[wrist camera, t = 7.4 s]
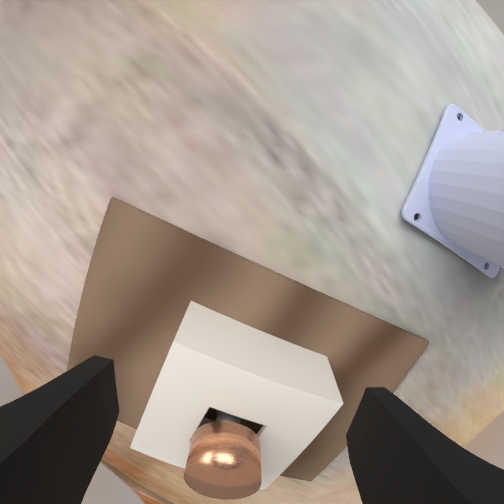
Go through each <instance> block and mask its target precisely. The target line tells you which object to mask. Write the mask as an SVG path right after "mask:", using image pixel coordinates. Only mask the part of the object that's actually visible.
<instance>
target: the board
mask: <svg viewBox="0 0 504 504" xmlns="http://www.w3.org/2000/svg"><path fill="white" fill-rule="evenodd" d="M191 301H193V302H195V303H197V304H200V305H202V306H204V307H206V308H209V309H211V310H213V311H215V312H218V313H220V314H222V315H225V316H227V317H229V318H232V319H234V320H236V321H239V322H241V323H243V324H246V325H248V326H250V327H253V328H255V329H258V330H260V331H263V332H265V333H268V334H270V335H272V336H275V337H277V338H280V339H282V340H285V341H288V342H290V343H293V344H295V345H298V346H300V347H303V348H306V349H308V350H311V351H313V352H316V353H319V354H321V355H324V356H327V358H328V361H329V364H330V366H331V369H332V372H333V375H334V378H335V380H336V383H337V386H338V389H339V392H340V395H341V398H342V400H343V403H344V404H343V405H342V406H341V407H340V409H339V410H338V411H337V412H336V414H335V415H334V416H333V417H332V418H331V420H330V421H329V422H328V423H327V424H326V426H325V427H324V428H323V429H322V430H321V431H320V433H319V434H318V435H317V436H316V437H315V438H314V439H313V440H312V442H311V443H310V444H309V445H308V446H307V447H306V448H305V449H304V450H303V451H302V453H301V454H300V455H299V456H298V457H297V458H296V459H295V460H294V461H293V462H292V463H291V464H290V465H289V466H288V467H287V468H286V469H285V470H284V471H283V472H282V473H281V474H280V475H281V476H285V477H290V478H295V479H301V480H307V481H312V480H313V479H314V478H315V477H316V476H317V475H318V474H319V473H320V472H321V471H322V470H323V469H324V468H325V467H326V466H327V465H328V464H329V463H330V462H331V461H333V460H334V459H335V457H336V456H337V455H338V454H339V453H340V452H341V451H342V450H343V449H344V448H345V447H346V446H347V439H346V434H347V431H348V429H349V427H350V425H351V422H352V420H353V418H354V415H355V413H356V411H357V408H358V406H359V404H360V401H361V399H362V396H363V394H364V391H365V389H366V387H385V388H386V389H388V390H389V391H390V392H392V393H393V392H394V391H395V389H396V388H397V387H398V385H399V384H400V383H401V381H402V380H403V379H404V377H405V376H406V375H407V373H408V372H409V371H410V369H411V368H412V367H413V365H414V364H415V362H416V361H417V360H418V358H419V357H420V355H421V354H422V352H423V351H424V349H425V348H426V347H427V345H428V344H429V342H428V341H427V340H426V339H424V338H421V337H419V336H417V335H415V334H412V333H410V332H408V331H406V330H403V329H401V328H399V327H397V326H394V325H392V324H390V323H388V322H385V321H383V320H381V319H379V318H376V317H374V316H372V315H370V314H368V313H365V312H363V311H361V310H359V309H356V308H354V307H352V306H350V305H347V304H345V303H343V302H341V301H339V300H336V299H334V298H332V297H330V296H327V295H325V294H323V293H321V292H319V291H316V290H314V289H312V288H310V287H308V286H305V285H303V284H301V283H299V282H297V281H294V280H292V279H290V278H288V277H285V276H283V275H281V274H279V273H277V272H274V271H272V270H270V269H268V268H266V267H264V266H261V265H259V264H257V263H255V262H253V261H250V260H248V259H246V258H244V257H242V256H239V255H237V254H235V253H233V252H231V251H229V250H226V249H224V248H222V247H220V246H218V245H215V244H213V243H211V242H209V241H207V240H205V239H202V238H200V237H198V236H196V235H194V234H192V233H189V232H187V231H185V230H183V229H181V228H179V227H176V226H174V225H172V224H170V223H168V222H166V221H163V220H161V219H159V218H157V217H155V216H153V215H151V214H148V213H146V212H144V211H142V210H140V209H138V208H136V207H133V206H131V205H129V204H127V203H125V202H123V201H121V200H118V199H116V198H114V197H113V198H111V199H110V202H109V204H108V207H107V210H106V213H105V216H104V219H103V222H102V225H101V229H100V232H99V235H98V238H97V241H96V245H95V248H94V251H93V255H92V258H91V262H90V266H89V269H88V273H87V277H86V281H85V284H84V288H83V293H82V297H81V301H80V305H79V310H78V314H77V319H76V323H75V328H74V333H73V338H72V344H71V349H70V355H69V361H68V367H67V371H68V370H70V369H72V368H73V367H75V366H76V365H78V364H80V363H81V362H83V361H85V360H87V359H88V358H90V357H92V356H94V355H96V356H100V357H105V358H109V359H113V360H114V370H115V379H116V388H117V396H118V403H119V410H120V412H119V415H118V418H117V420H118V421H120V422H122V423H124V424H126V425H129V426H131V427H133V428H135V429H138V426H139V424H140V421H141V419H142V416H143V414H144V411H145V409H146V406H147V404H148V401H149V399H150V396H151V394H152V391H153V389H154V386H155V384H156V381H157V379H158V377H159V374H160V372H161V369H162V367H163V365H164V362H165V360H166V357H167V355H168V353H169V350H170V348H171V346H172V343H173V341H174V339H175V336H176V334H177V332H178V329H179V327H180V325H181V322H182V320H183V318H184V315H185V313H186V311H187V309H188V306H189V304H190V302H191ZM216 412H217V409H214V408H212V407H209V409H208V410H207V412H206V414H205V415H204V417H205V418H208V419H211V420H214V421H215V419H216ZM240 424H241V425H244V426H246V427H248V428H250V429H251V430H253V431H254V432H255V433H256V434H257V433H258V432H259V431H260V429H261V428H262V427H263V425H262V424H259V423H256V422H252V421H249V420H246V419H243V418H241V420H240Z"/></svg>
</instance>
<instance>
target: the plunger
mask: <svg viewBox="0 0 504 504" xmlns="http://www.w3.org/2000/svg"><path fill="white" fill-rule="evenodd" d="M240 420H241V418H240V417H237V416H234V415H231V414H228V413H225V412H223V411H220V410H217V412H216V419H215V422H211V423H207V424H204V425H202V426H200V427H199V428H197V429H196V430H195V431H194V433H193V435H192V438H191V443H190V448H189V453H188V458H187V463H186V468H185V473H184V480H185V482H186V484H187V485H188V486H189V487H190V488H191V489H193V490H194V491H196V492H198V493H200V494H202V495H204V496H208V497H211V498H216V499H239V498H244V497H247V496H250V495H252V494H253V493H255V492H256V491H258V489H259V488H260V486H261V482H262V481H261V442H260V439H259V437H258V435H257V434H256V433H255V432H254V431H253V430H251V429H250V428H248V427H246V426H244V425H241V424H240Z"/></svg>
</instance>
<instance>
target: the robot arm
mask: <svg viewBox="0 0 504 504" xmlns="http://www.w3.org/2000/svg"><path fill="white" fill-rule="evenodd" d="M457 114H458V115H459V116H460V120H458V118H457ZM416 213H417V214H418V219H417V220H416V221H415V220H414V215H415V214H416ZM401 215H402V218H403V219H404V220H405V221H407V222H409V223H410V224H412V225H413V226H415V227H417V228H418V229H420V230H421V231H423V232H424V233H426V234H427V235H429V236H431V237H432V238H434V239H435V240H437V241H438V242H440V243H441V244H443V245H444V246H446V247H447V248H449V249H450V250H452V251H453V252H454V253H456V254H457V255H459V256H460V257H462V258H463V259H465V260H466V261H467V262H469V263H470V264H472V265H473V266H474V267H476V268H477V269H479V270H480V271H481V272H483V273H484V274H485V275H487V276H488V277H490V278H492V279H493V278H495V277H496V276H497V274H498V272H499V270H500V268H503V269H504V130H500V131H485V130H484V129H483V128H481V127H480V126H479V125H478V124H477V123H476V122H475V121H474V120H473V119H471V118H470V117H469V116H468V115H467V114H466V113H464V112H463V111H462V110H461V109H460V108H458V107H457V106H456V105H454V104H450V105H448V106H446V108H445V111H444V113H443V116H442V119H441V121H440V124H439V126H438V129H437V131H436V134H435V136H434V139H433V141H432V144H431V146H430V148H429V151H428V153H427V155H426V158H425V160H424V162H423V165H422V167H421V169H420V171H419V174H418V176H417V178H416V180H415V182H414V185H413V187H412V189H411V191H410V193H409V195H408V197H407V200H406V202H405V204H404V206H403V208H402V211H401ZM485 264H486V266H485ZM484 266H485V268H484ZM119 412H120V410H119V403H118V396H117V388H116V379H115V370H114V360H113V359H109V358H105V357H100V356H96V355H94V356H92V357H90V358H88V359H87V360H85V361H83V362H81V363H80V364H78V365H76V366H75V367H73V368H72V369H70V370H68V371H67V372H65V373H63V374H62V375H60V376H58V377H57V378H55V379H53V380H51V381H50V382H48V383H46V384H45V385H43V386H41V387H39V388H37V389H35V390H34V391H32V392H30V393H28V394H26V395H24V396H22V397H20V398H18V399H16V400H14V401H12V402H10V403H8V404H6V405H3V406H1V407H0V504H81V502H82V500H83V497H84V495H85V492H86V490H87V488H88V486H89V484H90V482H91V479H92V477H93V475H94V473H95V471H96V469H97V467H98V465H99V463H100V461H101V459H102V456H103V454H104V452H105V450H106V448H107V446H108V444H109V442H110V439H111V437H112V434H113V431H114V428H115V425H116V421H117V418H118V415H119ZM346 439H347V446H348V453H349V459H350V464H351V467H352V470H353V474H354V477H355V480H356V484H357V487H358V490H359V493H360V496H361V500H362V503H363V504H504V470H503V469H501V468H498V467H496V466H494V465H492V464H490V463H488V462H486V461H484V460H483V459H481V458H479V457H477V456H476V455H474V454H472V453H470V452H469V451H467V450H466V449H464V448H462V447H461V446H460V445H458V444H457V443H455V442H454V441H452V440H451V439H449V438H448V437H447V436H445V435H444V434H443V433H441V432H440V431H439V430H437V429H436V428H435V427H433V426H432V425H431V424H430V423H428V422H427V421H426V420H425V419H423V418H422V417H421V416H420V415H419V414H417V413H416V412H415V411H414V410H413V409H411V408H410V407H409V406H408V405H407V404H405V403H404V402H403V401H402V400H400V399H399V398H398V397H397V396H395V395H394V394H393V393H392V392H390V391H389V390H388V389H386V388H385V387H366V389H365V391H364V394H363V396H362V399H361V401H360V404H359V406H358V408H357V411H356V413H355V415H354V418H353V420H352V422H351V425H350V427H349V429H348V431H347V434H346Z"/></svg>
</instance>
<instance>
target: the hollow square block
mask: <svg viewBox="0 0 504 504" xmlns="http://www.w3.org/2000/svg"><path fill="white" fill-rule="evenodd" d="M343 404H344V403H343V400H342V398H341V395H340V392H339V389H338V386H337V383H336V380H335V378H334V375H333V372H332V369H331V366H330V364H329V361H328V358H327V356H324V355H321V354H319V353H316V352H313V351H311V350H308V349H306V348H303V347H300V346H298V345H295V344H293V343H290V342H288V341H285V340H282V339H280V338H277V337H275V336H272V335H270V334H268V333H265V332H263V331H260V330H258V329H255V328H253V327H250V326H248V325H246V324H243V323H241V322H239V321H236V320H234V319H232V318H229V317H227V316H225V315H222V314H220V313H218V312H215V311H213V310H211V309H209V308H206V307H204V306H202V305H200V304H197V303H195V302H193V301H191V302H190V304H189V306H188V309H187V311H186V313H185V315H184V318H183V320H182V322H181V325H180V327H179V329H178V332H177V334H176V336H175V339H174V341H173V343H172V346H171V348H170V350H169V353H168V355H167V357H166V360H165V362H164V365H163V367H162V369H161V372H160V374H159V377H158V379H157V381H156V384H155V386H154V389H153V391H152V394H151V396H150V399H149V401H148V404H147V406H146V409H145V411H144V414H143V416H142V419H141V421H140V424H139V426H138V429H137V431H136V434H135V436H134V439H133V441H132V444H131V447H130V448H132V449H134V450H136V451H139V452H141V453H144V454H146V455H148V456H151V457H153V458H156V459H159V460H161V461H164V462H167V463H169V464H172V465H175V466H178V467H181V468H183V469H185V468H186V463H187V458H188V453H189V448H190V443H191V438H192V435H193V433H194V431H195V430H196V429H197V428H199V427H200V426H202V425H204V424H207V423H211V422H215V421H214V420H211V419H208V418H205V417H204V415H205V414H206V412H207V410H208V409H209V407H212V408H214V409H217V410H220V411H223V412H225V413H228V414H231V415H234V416H237V417H240V418H243V419H246V420H249V421H252V422H256V423H259V424H262V425H263V427H262V428H261V429H260V431H259V432H258V433H257V435H258V437H259V439H260V442H261V481H262V482H261V486H260V488H259V490H265V489H266V488H267V487H268V486H269V485H270V484H271V483H272V482H273V481H274V480H275V479H276V478H277V477H278V476H279V475H280V474H281V473H282V472H283V471H284V470H285V469H286V468H287V467H288V466H289V465H290V464H291V463H292V462H293V461H294V460H295V459H296V458H297V457H298V456H299V455H300V454H301V453H302V451H303V450H304V449H305V448H306V447H307V446H308V445H309V444H310V443H311V442H312V440H313V439H314V438H315V437H316V436H317V435H318V434H319V433H320V431H321V430H322V429H323V428H324V427H325V426H326V424H327V423H328V422H329V421H330V420H331V418H332V417H333V416H334V415H335V414H336V412H337V411H338V410H339V409H340V407H341V406H342V405H343Z"/></svg>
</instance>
